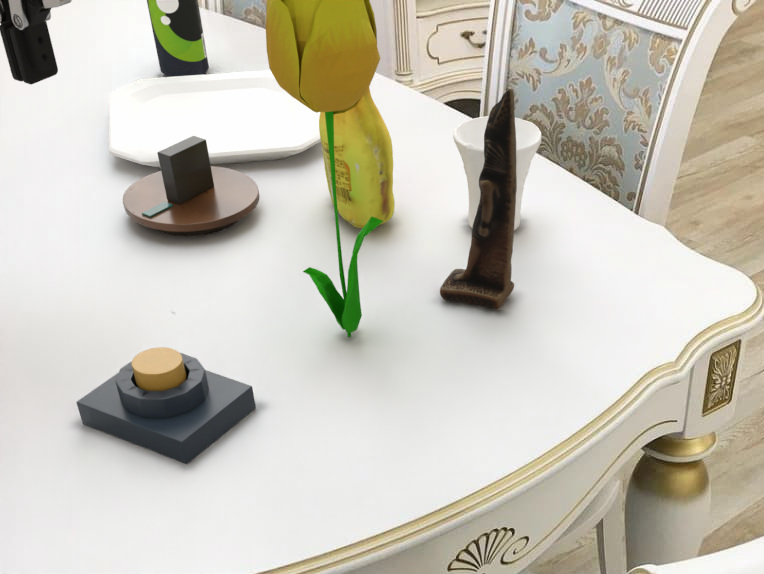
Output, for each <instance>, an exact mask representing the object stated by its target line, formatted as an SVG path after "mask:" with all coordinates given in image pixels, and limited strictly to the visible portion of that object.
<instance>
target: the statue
mask: <svg viewBox="0 0 764 574" xmlns="http://www.w3.org/2000/svg"><path fill="white" fill-rule="evenodd" d="M488 116H489V118H488V121H487V126H486V129H485V133H484V158H485V160H484V166H483V169H482V171H481V174H480V177H479V188H480V201H479V205H478V209H477V213H476V216H475V219H474V223H473V227H472V228H471V243H470V248H469V251H468V252H469V253H468V258H467V264H466V268H465V269H464V268H455V269H453V270H452V271H451V272H450V274H449V275H448V276H447V278H445V280H444V281H443V283H442V284H441V286H440V288H439V294H440V296H441V298H442V299H443V300H444V301H446V302H452V303H453V302H455V303H462V304H467V305H472V306H477V307H482V308H486V309H490V310H499V309H500V308H501V307H502V306H503V305H504V304H505V302H506V301H507V299H509V297H510V296H511V294H512V292H513V291H514V288H515V283H514V282H513V280H512V258H513V253H514V252H513V251H514V250H513V249H514V248H513V247H514V246H513V245H514V237H515V230H514V221H515V206H516V190H517V177H516V130H515V118H516V116H515V93H514V89H512V88H509V89H507V90H506V91H505V92H504V93H503V94H502V96H501V97H500V100H499V101H498V102H496V103H495V104H494V105H493V106H492V108H491V109H490V112H489V114H488Z"/></svg>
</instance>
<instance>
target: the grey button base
mask: <svg viewBox="0 0 764 574" xmlns="http://www.w3.org/2000/svg"><path fill="white" fill-rule="evenodd" d="M179 353H180V354H181V355H182V358H183V363H184V367H185V371H186V380H185V382H183V383H182V384H181V385H179V386H178V387H175V388H172V389H168V390H165V391H146V390H143V389H140V388H139V387H138V386H137V384H136V380H135V376H134V372H133V369H132V365H131V364H132V360H131V361H130V362H128V363H127V364H126V365H124V366H122V367H121V368H120V369H119V371H118V372H117V373H116V374H114V375H113V376H111V377H110V378H108V379H107V380H105V381H104V382H102V384H100V385H98V386H97V387H96V388H94V389H93V390H91V391H89V392H88V393H87V394H86V395H84V396H83V397H81V398H80V399H78V400H77V401H76V406H77V410H78V413H79V416H80V419H81V422H82V424H83V425H84V426H87V427H89V428H92V429H95V430H97V431H100V432H102V433H104V434H107V435H109V436H112V437H115V438H118V439H120V440H123V441H126V442H129V443H131V444H133V445H135V446H138V447H141V448H143V449H147V450H149V451H152V452H154V453H157V454H159V455H162V456H165V457H168V458H170V459H172V460H175V461H177V462H180V463H183V464H185V465H188V464H189V463H191V462H192V461H193V460H194V459H195V458H196V457H198V456H199V455H200V454H201V453H203V452H204V451H205V450H207V449H208V448H209V447H210V446H212V445H213V444H214V443H216V441H218V440H219V439H220V438H221V437H222V436H224V435H225V434H226V433H228V432H229V431H230V430H231V429H232V428H233V427H235V426H236V425H237V424H239V423H240V422H241V421H242V420H243V419H245V418H246V417H247V416H248V415H249V414H250V413H252V412H253V411H254V410H255V409H256V408H257V406H256V401H255V395H254V390H253V386H252V385H249V384H247V383H244V382H241V381H239V380H236V379H233V378H230V377H227V376H224V375H221V374H218V373H216V372H212V371H210V370H206V368H205V367H204V366H203V364H202V363H201V362H200V361H199V359H197V357H194V356H190V355H188V354H185V353H183V352H179Z"/></svg>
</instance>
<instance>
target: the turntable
mask: <svg viewBox="0 0 764 574" xmlns="http://www.w3.org/2000/svg"><path fill="white" fill-rule="evenodd" d="M157 153H158V158H159V163H160V168H159V169H160V171H156V172H153V173H150V174H147V175H146V176H143V177H141V178H139V179H137V180H136V181H135V182H133V183H132V184H131V185H129V186H128V187H127V189H126V190H125V192H123V196H122V205H123V208H124V211H125V214H126V215H127V216H128V217H129V219H130V220H132V221H133V222H135V223H136V224H139V225H141V226H143V227H146V228H149V229H154V230H155V229H157V230H163V231H174V232H189V231H201V230H207V229H213V228H217V227H221V226H224V225H228V224H230V223H233V222H236V221H238V220H239V221H240V220H242V219H244V218H245V217H247V216H248V215H249V214H250V213H252V212H254V210H255V209H256V208H257V206H258V204H259V203H260V202H259V201H260V190H259V187H258V184H257V183H256V181H255V180H254V179H253V178H252V177H250V176H249V175H247V174H245V173H243V172H241V171H238V170H235V169H232V168H228V167H223V166H217V165H210V160H209V154H208V148H207V143H206V139H203V138H199V137H196V136H192V137H189V138H187V139H185V140H183V141H181V142H179V143H176V144H174V145H172V146H170V147H168V148H166V149H164V150H161V151H159V152H157ZM239 221H238V222H239ZM157 230H156V231H157Z"/></svg>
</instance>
